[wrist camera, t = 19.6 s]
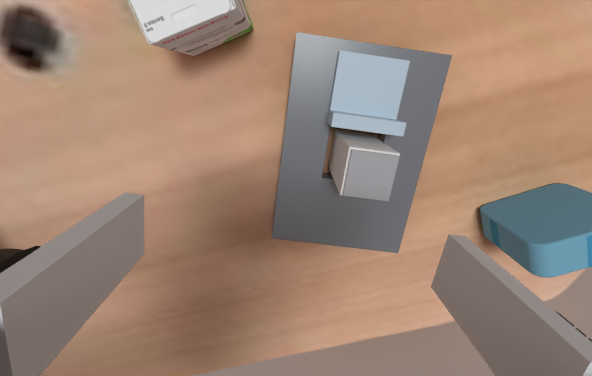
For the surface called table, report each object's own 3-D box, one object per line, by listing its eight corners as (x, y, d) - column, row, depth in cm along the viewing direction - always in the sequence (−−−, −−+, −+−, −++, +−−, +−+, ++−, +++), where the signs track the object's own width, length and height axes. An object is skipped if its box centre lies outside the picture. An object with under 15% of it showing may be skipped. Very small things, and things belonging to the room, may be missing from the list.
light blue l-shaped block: (327, 122, 37) (331, 126, 33) (338, 51, 35) (344, 46, 31) (391, 131, 38) (403, 136, 34) (407, 61, 35) (422, 58, 31)
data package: (479, 233, 46) (540, 281, 34) (474, 206, 44) (536, 248, 33) (562, 208, 45) (653, 250, 33) (559, 180, 43) (654, 214, 32)
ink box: (238, -13, 36) (212, -58, 24) (255, 31, 37) (237, 8, 26) (172, 16, 36) (118, -15, 25) (191, 58, 38) (148, 47, 27)
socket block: (273, 228, 45) (271, 238, 43) (296, 36, 37) (296, 32, 34) (391, 242, 46) (398, 253, 43) (440, 57, 38) (451, 55, 35)
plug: (327, 165, 42) (340, 197, 30) (334, 129, 41) (350, 147, 29) (363, 170, 43) (390, 203, 31) (370, 134, 41) (402, 154, 29)
